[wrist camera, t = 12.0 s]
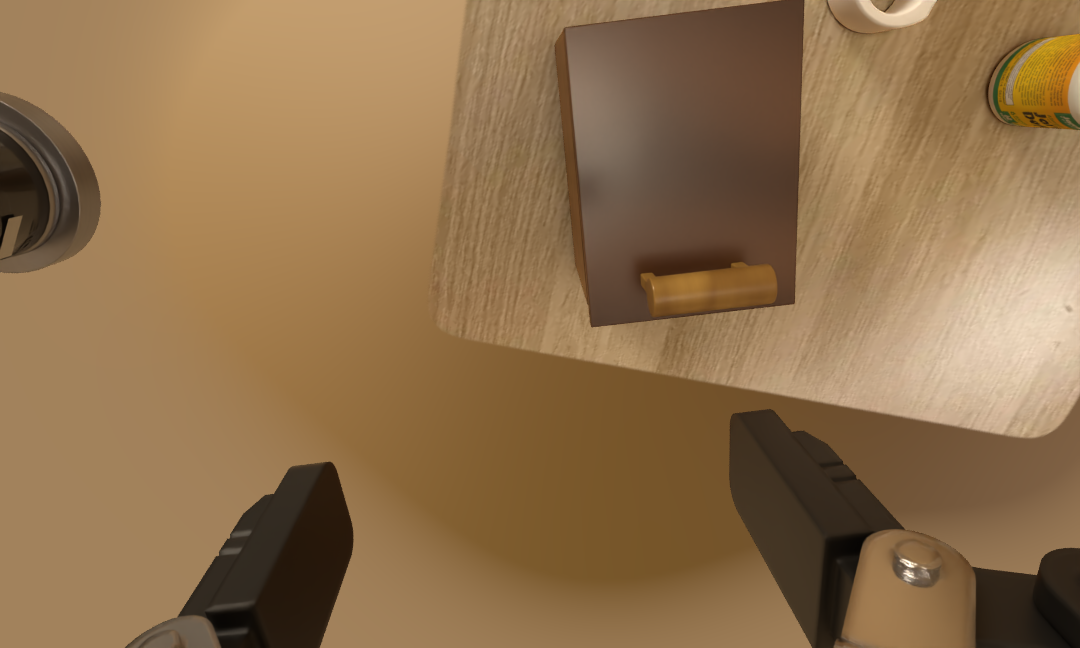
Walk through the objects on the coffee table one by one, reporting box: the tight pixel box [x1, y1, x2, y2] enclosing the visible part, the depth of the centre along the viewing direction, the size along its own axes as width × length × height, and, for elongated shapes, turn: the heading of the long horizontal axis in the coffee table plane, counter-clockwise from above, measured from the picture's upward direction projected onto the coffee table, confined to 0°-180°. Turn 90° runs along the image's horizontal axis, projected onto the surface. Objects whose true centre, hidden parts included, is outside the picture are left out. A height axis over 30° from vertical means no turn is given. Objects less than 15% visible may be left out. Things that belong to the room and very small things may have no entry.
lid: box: [563, 0, 804, 327], centre depth 29 cm, size 16×12×5 cm
